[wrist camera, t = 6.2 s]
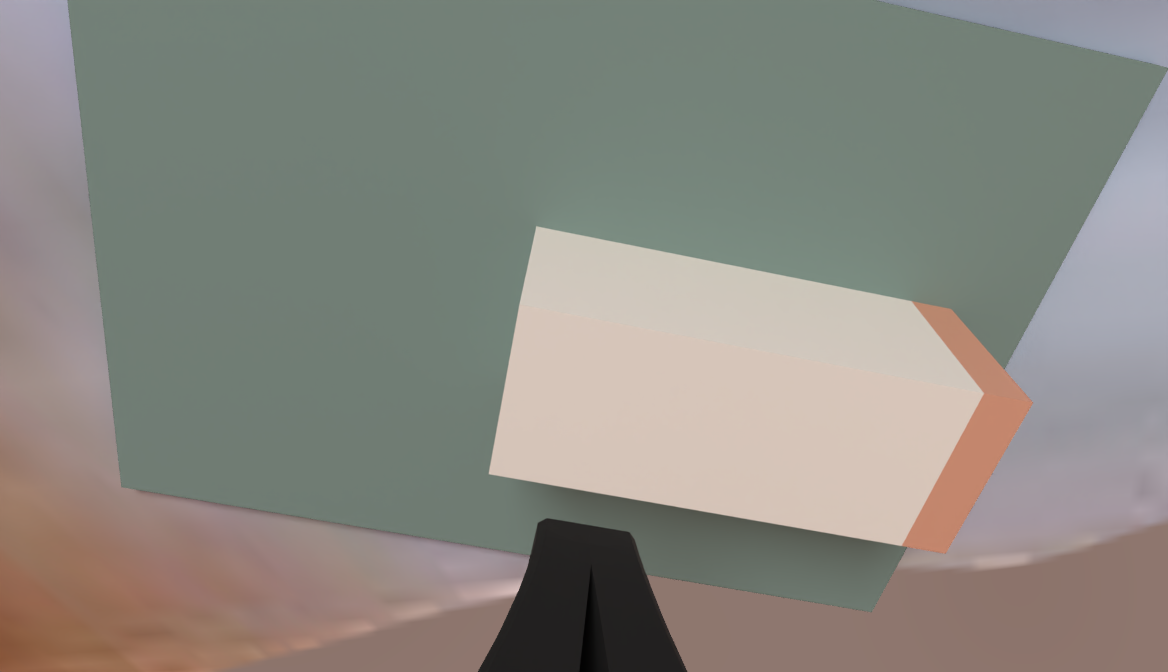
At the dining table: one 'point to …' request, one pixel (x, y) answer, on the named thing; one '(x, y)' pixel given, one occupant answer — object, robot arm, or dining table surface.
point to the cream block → (749, 394)
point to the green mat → (544, 199)
